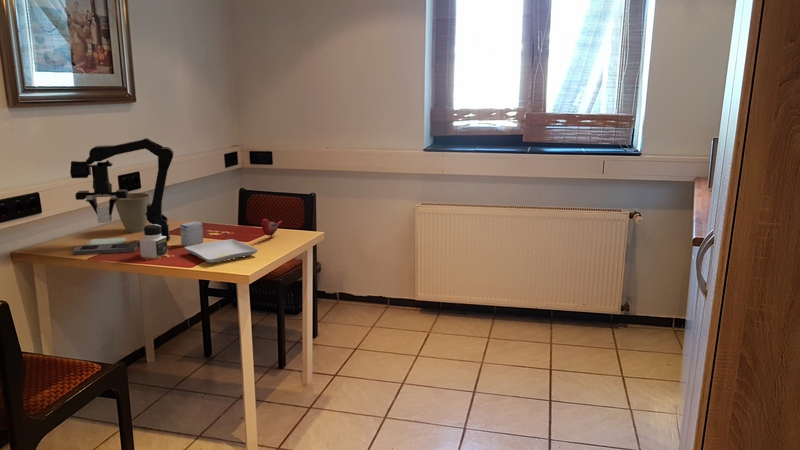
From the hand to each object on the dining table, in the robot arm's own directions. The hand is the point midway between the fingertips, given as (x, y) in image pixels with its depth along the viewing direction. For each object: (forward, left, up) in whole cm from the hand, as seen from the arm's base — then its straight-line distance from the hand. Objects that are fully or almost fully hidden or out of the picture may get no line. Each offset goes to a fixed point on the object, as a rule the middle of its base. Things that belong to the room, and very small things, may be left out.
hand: (104, 215), depth 242 cm
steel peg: (0, 0, -2) cm, 3 cm away
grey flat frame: (-2, +12, -12) cm, 17 cm away
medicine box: (-34, +8, -12) cm, 37 cm away
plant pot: (-8, -20, -12) cm, 25 cm away
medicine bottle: (-21, +23, -12) cm, 33 cm away
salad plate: (-46, +28, -12) cm, 55 cm away
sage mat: (0, 0, -12) cm, 12 cm away
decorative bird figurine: (-67, +5, -12) cm, 68 cm away
